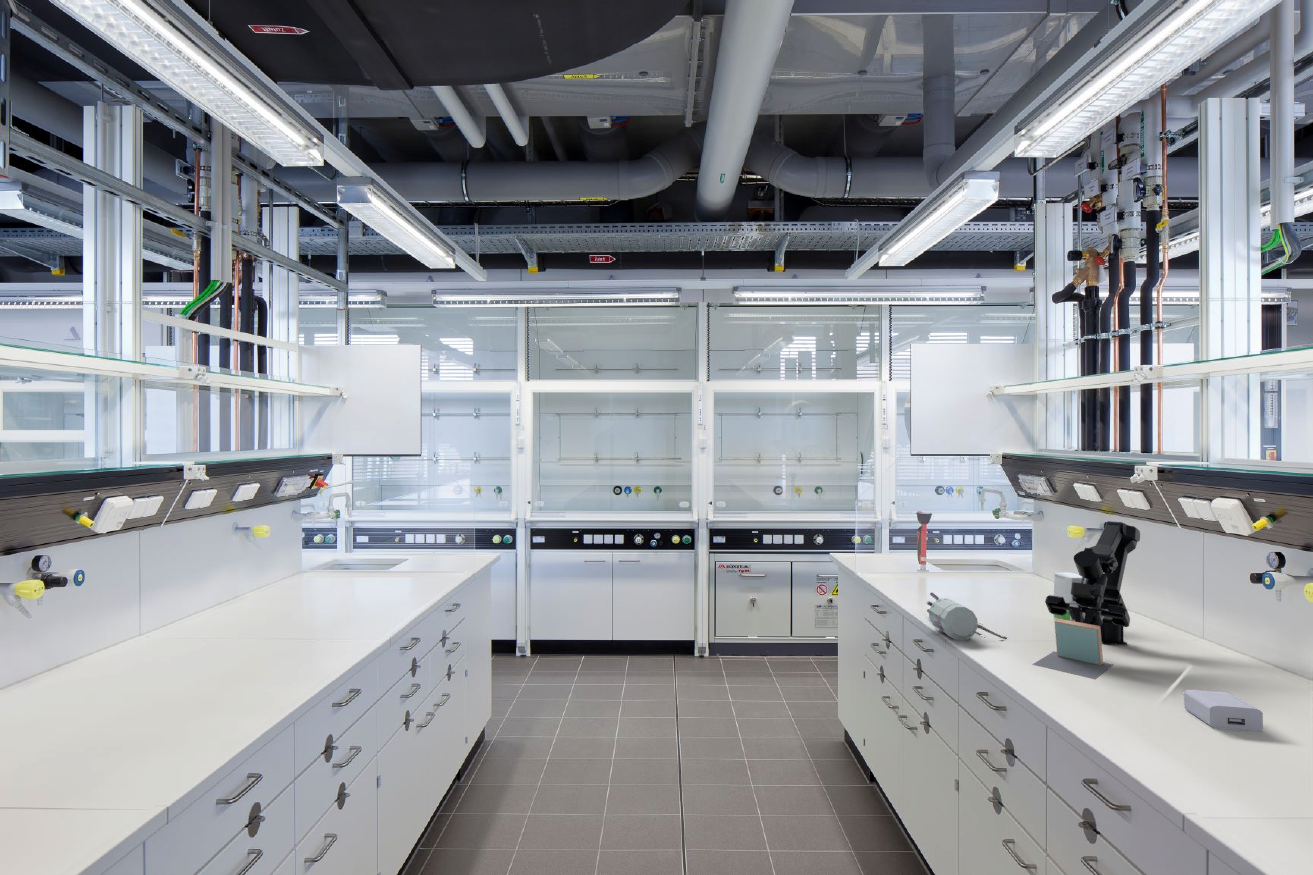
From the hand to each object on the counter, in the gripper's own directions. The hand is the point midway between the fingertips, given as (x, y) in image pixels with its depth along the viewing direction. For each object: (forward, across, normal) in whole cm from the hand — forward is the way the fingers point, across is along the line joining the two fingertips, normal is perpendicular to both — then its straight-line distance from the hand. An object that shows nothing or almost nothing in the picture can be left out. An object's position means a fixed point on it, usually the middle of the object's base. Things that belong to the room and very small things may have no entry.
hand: (1079, 636), depth 169 cm
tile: (+4, 0, +4) cm, 6 cm away
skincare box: (-25, -14, +35) cm, 45 cm away
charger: (+17, +29, -6) cm, 34 cm away
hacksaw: (-2, -27, +12) cm, 30 cm away
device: (+2, -40, +8) cm, 41 cm away
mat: (+9, 0, +1) cm, 9 cm away
